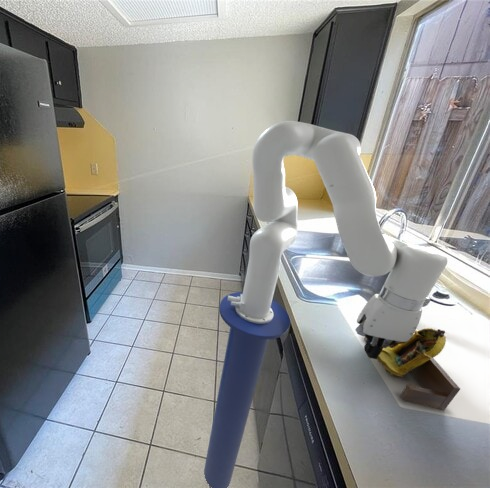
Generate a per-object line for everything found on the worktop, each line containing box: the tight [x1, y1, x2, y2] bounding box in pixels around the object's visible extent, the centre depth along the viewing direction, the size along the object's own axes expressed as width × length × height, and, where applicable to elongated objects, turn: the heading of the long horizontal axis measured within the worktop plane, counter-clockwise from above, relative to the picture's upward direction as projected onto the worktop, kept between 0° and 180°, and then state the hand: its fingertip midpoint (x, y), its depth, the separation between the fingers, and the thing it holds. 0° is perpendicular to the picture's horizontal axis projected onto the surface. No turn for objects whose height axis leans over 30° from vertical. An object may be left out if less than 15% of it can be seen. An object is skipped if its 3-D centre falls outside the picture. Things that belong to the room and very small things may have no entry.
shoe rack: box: [363, 337, 461, 411], centre depth 66 cm, size 8×20×7 cm, turn 166°
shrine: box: [376, 327, 447, 379], centre depth 64 cm, size 12×8×15 cm
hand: (369, 354), depth 68 cm, fingers closed
